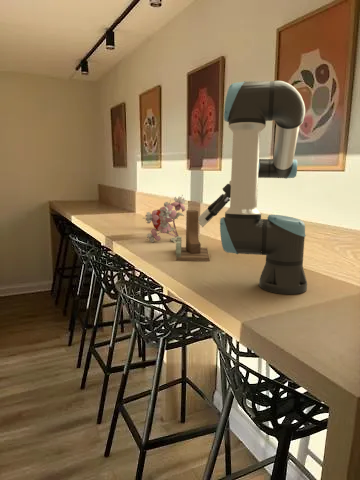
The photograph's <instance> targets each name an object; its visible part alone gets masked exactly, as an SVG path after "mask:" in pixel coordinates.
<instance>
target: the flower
mask: <svg viewBox="0 0 360 480" xmlns="http://www.w3.org/2000/svg"><path fill="white" fill-rule="evenodd" d="M173 201H174V202H171V199H170V200H169V201H165V202H164V203H163V206H161V207H160V208H159V209H160V214H159V216H160V217H159V216H157V215H156V213H157V212H158V211H157V210H158V209H157V210H156V209H154V210H153V211H152V212H150V211H146V214H145V217H142V219H144V220H145V222H146V223H147V224H150V223H152V222H153V223H152V225H153V224H154V225H157V224H158V223H156V222H157V220H158V219H159V218H160V220H161V222H160V223H161V224H160V225H159V227H158V230H157V229H155V228H151V229H150V233H149V232H148V233H147V234H146V241H147V240H148V241H149V242H150V243H154V242H155V241H158V242H159V241H161V236H160V235H158V234H166V235H170V236H171V238H170V239H169V241H171V242H174V244H176V242H177V237H181V236H180V235H179V234H178V231H177V228H176V221H175V220H178V218H179V217H180V216H181V217H185V214H184V213H183V212H185V211H186V207H185V205H184V204H186V203H185V202H186V199H185V197H183V194H181V196H178V197H177V196H175V197H173ZM173 209H174V210H173ZM180 210H181V212H180ZM177 211H178V212H177ZM162 221H163V222H162ZM170 223H172V224H173V226H171V224H170ZM158 231H159V232H158ZM157 232H158V233H157ZM171 232H172V233H171ZM173 233H174V234H173Z"/></svg>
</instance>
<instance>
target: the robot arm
mask: <svg viewBox="0 0 360 480" xmlns="http://www.w3.org/2000/svg"><path fill="white" fill-rule="evenodd" d="M223 110H224V111H223V120H224V121H225V122H226V123H228V128H229V129H230V130H231V132H232V146H231V147H232V150H231V153H232V154H231V174H230V180H229V183H227V184H225V186H223V188H222V191H223V192H224V193H222V194H220V195H219V197H217V199H216V200H214V201H213V202H212V203H211V204H210V205H209V206H208V207H207V208H206V209H205V210H204V211H203V212H202V213H201V214H200V215H198V225H199V226H201V227H202V228H204V227H205V226H206V224H207V223H209V222H210V221H211V220H212V219H213V218H214V217H215V216H217V215H218V213H220V212H221V211H222V209H223V208H224V207H225V206H226V205H227V204H228V203H229V207H228V209H227V210H226V211H225V212H224V216H223V217H221V218H220V219H219V231H220V233H219V235H220V239H221V241H220V242H221V247H222V249H223V251H224V252H225V253H228V254H229V253H230V254H235V255H239V254H241V255H258V256H261V255H262V256H265V264H264V267H263V269H262V272H261V274H260V277H259V279H258V286H259V288H261V289H263V290H264V291H266V292H270V293H275V294H280V295H298V294H299V295H300V294H302V293H305V292H306V291H307V290H308V289H307V288H308V281H307V277H306V273H305V269H304V265H303V264H304V252H305V250H304V249H305V238H306V236H307V235H306V223H305V222H304V220H301V219H299V218H296V217H292V216H287V215H280V214H268V216H267V219H266V218H262V213H261V211H260V210H259V209H258V191H259V189H258V187H259V179H291V178H292V179H294V178H295V177H297V173H298V159H295V155H296V154H295V152H296V149H297V142H298V136H299V130H300V126H302V124H303V123H304V120H305V116H306V105H305V102H304V100H303V97H302V95H301V93H300V92H299V91H298V90H297V88H295V87H294V86H293V85H292V84H290V83H288V82H286V81H283V80H271V81H269V80H266V81H265V80H261V81H258V80H257V81H255V80H254V81H246V80H245V81H241V82H239V81H238V82H233V83H231V84H230V85H229V87H228V89H227V93H226V96H225V103H224V109H223ZM269 121H270V122H271V121H273V122H274V124H275V125H276V127H275V137H274V148H273V150H274V151H273V158H260V148H261V147H260V145H261V143H260V142H261V132H262V131H263V130H264V129H265V128H266V125H267V124H266V123H267V122H269Z"/></svg>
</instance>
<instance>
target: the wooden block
mask: <svg viewBox="0 0 360 480" xmlns="http://www.w3.org/2000/svg"><path fill="white" fill-rule="evenodd" d="M185 211H186V212H185V213H186V214H185V216H186V220H185V223H186V224H185V225H186V227H185V247H186V250H187V251H188V252H190V253H191V254H197V253H200V252H201V245H202V243H201V242H200V239H199V223H198V222H199V220H198V217H199V210H197V209H196V210H195V209H189V210H188V209H187V210H185Z"/></svg>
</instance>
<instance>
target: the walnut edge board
mask: <svg viewBox="0 0 360 480" xmlns="http://www.w3.org/2000/svg"><path fill="white" fill-rule="evenodd" d="M175 242H176V243H175V261H179V262H210V254H209V250H208V247H201V252H200V253H197V254H191V253H190V252H188V251H187V250H186V246H182V236H180V237H177V240H176V241H175Z"/></svg>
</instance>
